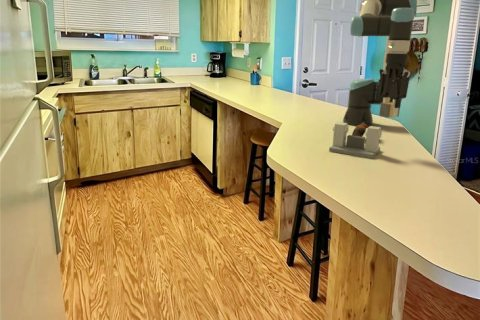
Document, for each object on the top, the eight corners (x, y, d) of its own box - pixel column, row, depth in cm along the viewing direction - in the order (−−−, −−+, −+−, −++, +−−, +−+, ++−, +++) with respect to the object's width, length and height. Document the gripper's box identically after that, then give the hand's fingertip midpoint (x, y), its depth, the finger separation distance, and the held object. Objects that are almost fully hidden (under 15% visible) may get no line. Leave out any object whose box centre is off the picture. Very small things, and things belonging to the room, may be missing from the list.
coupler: (379, 115, 144) (380, 102, 142) (390, 114, 146) (392, 101, 144) (387, 117, 140) (389, 104, 139) (398, 116, 143) (400, 103, 141)
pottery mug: (351, 136, 172) (362, 121, 170) (368, 147, 169) (380, 133, 166) (345, 135, 162) (357, 119, 159) (363, 147, 158) (375, 131, 156)
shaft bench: (337, 144, 157) (339, 120, 153) (381, 151, 147) (385, 125, 144) (327, 151, 147) (329, 125, 144) (374, 158, 138) (377, 131, 134)
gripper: (373, 52, 142) (366, 112, 149) (409, 53, 127) (399, 120, 134) (387, 52, 145) (380, 110, 152) (424, 53, 130) (414, 118, 137)
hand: (389, 114), depth 143 cm, fingers closed on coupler, 4 cm apart
